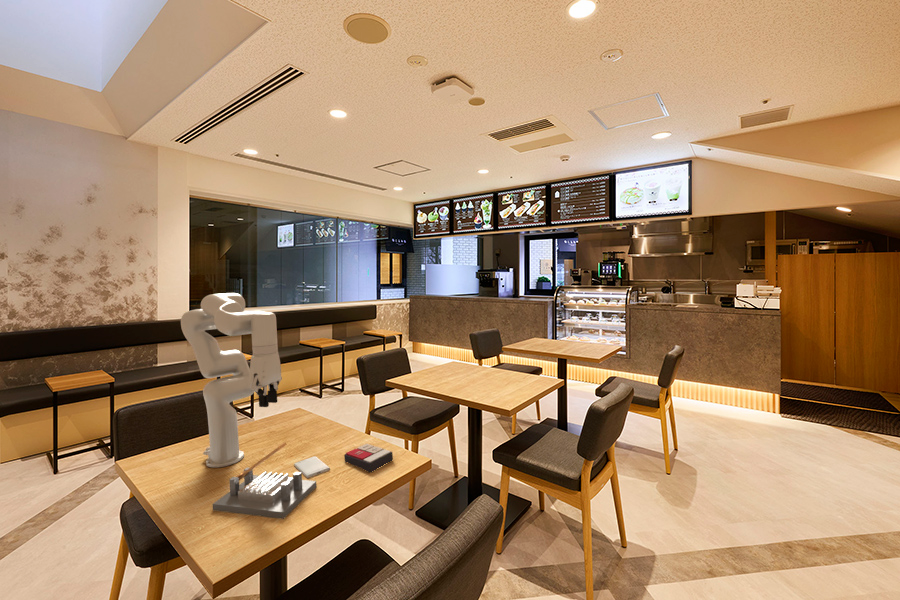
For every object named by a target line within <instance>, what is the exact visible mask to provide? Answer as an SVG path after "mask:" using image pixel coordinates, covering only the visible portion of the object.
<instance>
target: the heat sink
mask: <svg viewBox="0 0 900 600" xmlns="http://www.w3.org/2000/svg"><path fill="white" fill-rule="evenodd" d="M249 468H250V467H248V466H247V467H245V468H244V469H243V471H246V470H248V469H249ZM253 470H254V469H253ZM253 470H251V471H250V472H248V474H247V475H246V476H245V477H244V478H243V482H244V484H245V485H246V486H245V487H243V488H242V489H241V490H239V485H240V480H239V477H236V476H232V477H231V478H229V482H228V483H229V492H230V496H237V495H238V499H241V500H250V501H259V502H268V503H274V502H275V501H276V500H277V499H278V498H279V497H281V501H282V502H288V501H289V500H290V499H291V497H290V488H291V487H292V486H293V487H294V491H300V490H301V489H302V480H303V476H302V475H303V474H302V472H300V471H295V472H294V473H293V474H292V477H290V476H289V473H285V474H283V472H281V473H279V474H278V472H275V473H273V472H272V471H270V472H268V473H267V471H264V472H263V473H261V474H260V475H258V476H259V477H257V478H256V479H255V480H253V475H254V471H253Z"/></svg>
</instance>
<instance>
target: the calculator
mask: <svg viewBox="0 0 900 600" xmlns="http://www.w3.org/2000/svg"><path fill="white" fill-rule="evenodd" d="M343 456H344V458H343V459H344V462H345V463H347V462H348V463H347V464H349V463H350V464H349V465H351V464H352V466H354V467H356V466H357V467H356V468H359V469H362V470H363V469H364V470H363V471H365V470H366V471H365V472H367V471H368V472H367V473H370V472H371V473H373V472H375V471H377V470H378V469H377V468H379V467H381V466H383V465H384V464H386V463H388V462H390V461H392V460H393V461H394V458H393V457H394V456H393V451H392V450H388V449H384V448H382V447H379V446H376V445H373V444H370V443H365V444H363V445H360V446H357V448H354V449H351V450H349V451H347V452H345V454H344V455H343ZM393 461H392V462H393ZM390 463H391V462H390ZM388 464H389V463H388ZM386 465H387V464H386ZM384 466H385V465H384ZM384 466H383V467H384ZM381 468H382V467H381ZM376 469H377V470H376ZM379 469H380V468H379ZM374 470H375V471H374ZM372 471H373V472H372Z"/></svg>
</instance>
